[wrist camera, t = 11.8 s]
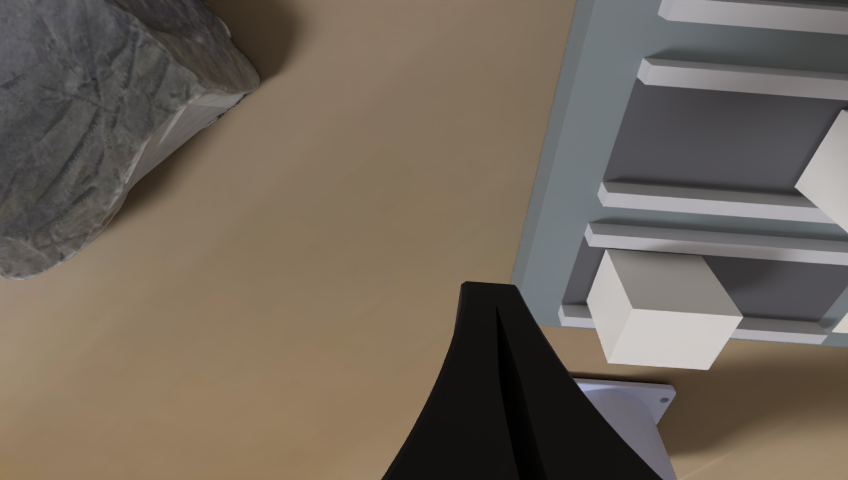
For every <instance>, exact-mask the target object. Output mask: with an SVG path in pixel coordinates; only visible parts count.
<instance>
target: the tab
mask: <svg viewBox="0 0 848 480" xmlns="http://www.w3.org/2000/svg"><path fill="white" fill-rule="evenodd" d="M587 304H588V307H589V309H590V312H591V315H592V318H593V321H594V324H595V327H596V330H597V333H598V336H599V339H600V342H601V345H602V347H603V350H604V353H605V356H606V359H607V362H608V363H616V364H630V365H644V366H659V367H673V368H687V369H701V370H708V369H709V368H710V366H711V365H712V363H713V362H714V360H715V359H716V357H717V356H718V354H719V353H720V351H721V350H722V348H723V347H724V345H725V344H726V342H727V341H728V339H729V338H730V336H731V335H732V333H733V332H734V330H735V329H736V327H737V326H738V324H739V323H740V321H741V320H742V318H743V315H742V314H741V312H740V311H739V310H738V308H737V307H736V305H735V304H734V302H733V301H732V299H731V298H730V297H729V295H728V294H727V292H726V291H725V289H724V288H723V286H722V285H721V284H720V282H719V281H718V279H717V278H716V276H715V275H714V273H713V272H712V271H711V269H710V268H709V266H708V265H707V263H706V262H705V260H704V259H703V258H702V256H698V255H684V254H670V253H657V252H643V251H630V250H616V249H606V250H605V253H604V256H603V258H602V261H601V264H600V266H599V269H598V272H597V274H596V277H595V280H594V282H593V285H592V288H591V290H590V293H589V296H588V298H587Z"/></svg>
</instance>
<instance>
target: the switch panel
mask: <svg viewBox="0 0 848 480" xmlns="http://www.w3.org/2000/svg"><path fill="white" fill-rule="evenodd" d="M841 110H848V0H577V4H576V8H575V12H574V17H573V21H572V25H571V29H570V34H569V38H568V42H567V46H566V51H565V55H564V59H563V63H562V67H561V72H560V76H559V80H558V84H557V89H556V93H555V97H554V101H553V106H552V110H551V114H550V118H549V123H548V127H547V131H546V135H545V140H544V144H543V148H542V152H541V157H540V161H539V165H538V169H537V174H536V178H535V182H534V186H533V191H532V195H531V199H530V203H529V208H528V212H527V216H526V220H525V225H524V229H523V233H522V237H521V242H520V246H519V250H518V254H517V258H516V263H515V267H514V271H513V275H512V280H511V285H516V287H517V288H518V289H519V291H520V293H521V295H522V297H523V299H524V301H525V303H526V305H527V306H528V308H529V310H530V312H531V314H532V316H533V317H534V319H535V321H536V322H537V324H538V325H541V326H555V327H569V328H583V329H596V327H595V324H594V321H593V318H592V315H591V312H590V309H589V307H588V304H587V298H588V296H589V293H590V290H591V288H592V285H593V282H594V280H595V277H596V274H597V272H598V269H599V266H600V264H601V261H602V258H603V256H604V253H605V250H606V249H616V250H630V251H643V252H657V253H670V254H684V255H698V256H702V258H703V259H704V260H705V262H706V263H707V265H708V266H709V268H710V269H711V271H712V272H713V273H714V275H715V276H716V278H717V279H718V281H719V282H720V284H721V285H722V286H723V288H724V289H725V291H726V292H727V294H728V295H729V297H730V298H731V299H732V301H733V302H734V304H735V305H736V307H737V308H738V310H739V311H740V312H741V314H742V315H743V318H742V320H741V321H740V323H739V324H738V326H737V327H736V329H735V330H734V332H733V333H732V335H731V336H730V338H729V339H736V340H750V341H764V342H778V343H792V344H806V345H820V346H834V347H848V233H847V232H846V231H845V230H844V229H843V228H842V227H840V226H839V225H838V224H837V223H836V222H835V221H833V220H832V219H831V218H830V217H829V216H828V215H826V214H825V213H824V212H823V211H822V210H821V209H820V208H818V207H817V206H816V205H815V204H814V203H813V202H811V201H810V200H809V199H808V198H807V197H806V196H804V195H803V194H802V193H801V192H800V191H799V190H798V189H796V188H795V185H796V184H797V182H798V180H799V179H800V177H801V175H802V174H803V172H804V170H805V169H806V167H807V166H808V164H809V162H810V161H811V159H812V157H813V156H814V154H815V153H816V151H817V149H818V148H819V146H820V144H821V143H822V141H823V140H824V138H825V136H826V135H827V133H828V131H829V130H830V128H831V127H832V125H833V123H834V122H835V120H836V118H837V117H838V115H839V113H840V112H841Z"/></svg>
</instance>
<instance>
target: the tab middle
mask: <svg viewBox="0 0 848 480" xmlns="http://www.w3.org/2000/svg"><path fill="white" fill-rule="evenodd" d="M795 188H796V189H798V190H799V191H800V192H801V193H802V194H803V195H804V196H806V197H807V198H808V199H809V200H810V201H811V202H813V203H814V204H815V205H816V206H817V207H818V208H820V209H821V210H822V211H823V212H824V213H825V214H826V215H828V216H829V217H830V218H831V219H832V220H833V221H835V222H836V223H837V224H838V225H839V226H840V227H842V228H843V229H844V230H845V231H846V232H847V233H848V110H841V112H840V113H839V115H838V117H837V118H836V120H835V122H834V123H833V125H832V127H831V128H830V130H829V131H828V133H827V135H826V136H825V138H824V140H823V141H822V143H821V144H820V146H819V148H818V149H817V151H816V153H815V154H814V156H813V157H812V159H811V161H810V162H809V164H808V166H807V167H806V169H805V170H804V172H803V174H802V175H801V177H800V179H799V180H798V182H797V184H796V185H795Z"/></svg>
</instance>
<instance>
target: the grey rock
mask: <svg viewBox="0 0 848 480" xmlns="http://www.w3.org/2000/svg"><path fill="white" fill-rule="evenodd" d="M259 85H260V78H259V75H258V72H257V70H256V69H255V68H254V66H253V65H252V63H251V62H250V61H249V59H248V58H247V57H246V56H245V55H244V54H243V53H242V52H241V51H240V50H239V49H238V48H237V47H236V46H235V45H234V43H233V41H232V38H231V33H230V31H229V29H228V27H227V26H226V24H225V23H224V22H223V21H222V20H221V19H220V18H219V17H217V16H216V15H215V14H214V13H213V12H212V11H211V10H210V9H209V8H208V7H207V6H206V5H205V4H204V3H203V2H202V1H201V0H0V275H2V276H3V277H4V278H5V279H10V280H27V279H29V278H31V277H34V276H38V275H40V274H41V273H43V272H45V271H47V270H49V269H52V268H53V267H55V266H57V265H59V264H61V263H63V262H65V261H67V260H68V259H70V258H71V257H73V256H74V255H75V254H77V253H78V252H79V251H81V250H82V249H83V248H85V247H86V246H87V245H89V244H90V243H91V242H92V241H94V240H95V239H96V238H97V237H98V236H99V235H100V234H101V233H102V232H103V231H104V230H105V229H106V227H107V226H108V225H109V223H110V221H111V220H112V218H113V217H114V216H115V214H116V213H117V212H118V211H119V210H120V209H121V207H122V205H123V203H124V201H125V199H126V197H127V194H128V192H129V190H130V189H131V188H132V187H133V186H134V185H135V184H136V183H137V182H138V181H139V180H140V179H141V178H142V177H144V176H145V175H146V174H147V173H148V172H150V171H151V170H152V169H153V168H154V167H156V166H157V165H158V164H159V163H161V162H162V161H163V160H164V159H165V158H167V157H168V156H169V155H170V154H172V153H173V152H174V151H175V150H176V149H178V148H179V147H180V146H181V145H183V144H184V143H185V142H186V141H187V140H189V139H190V138H191V137H192V136H194V135H195V134H196V133H197V132H198V131H200V130H201V129H203V128H206V127H208V126H210V125H211V124H212V123H214V122H215V121H216V120H217V119H218V118H219V117H220V116H221V115H223V114H224V113H225V112H226V111H227V110H228V109H229V108H232V107H234V106H235V104H236V103H237V102H238V101H239V100H240V99H242V98H243V96H244V94H248V93H252V92H253V91H254V90H256V89H257V88H259Z"/></svg>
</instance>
